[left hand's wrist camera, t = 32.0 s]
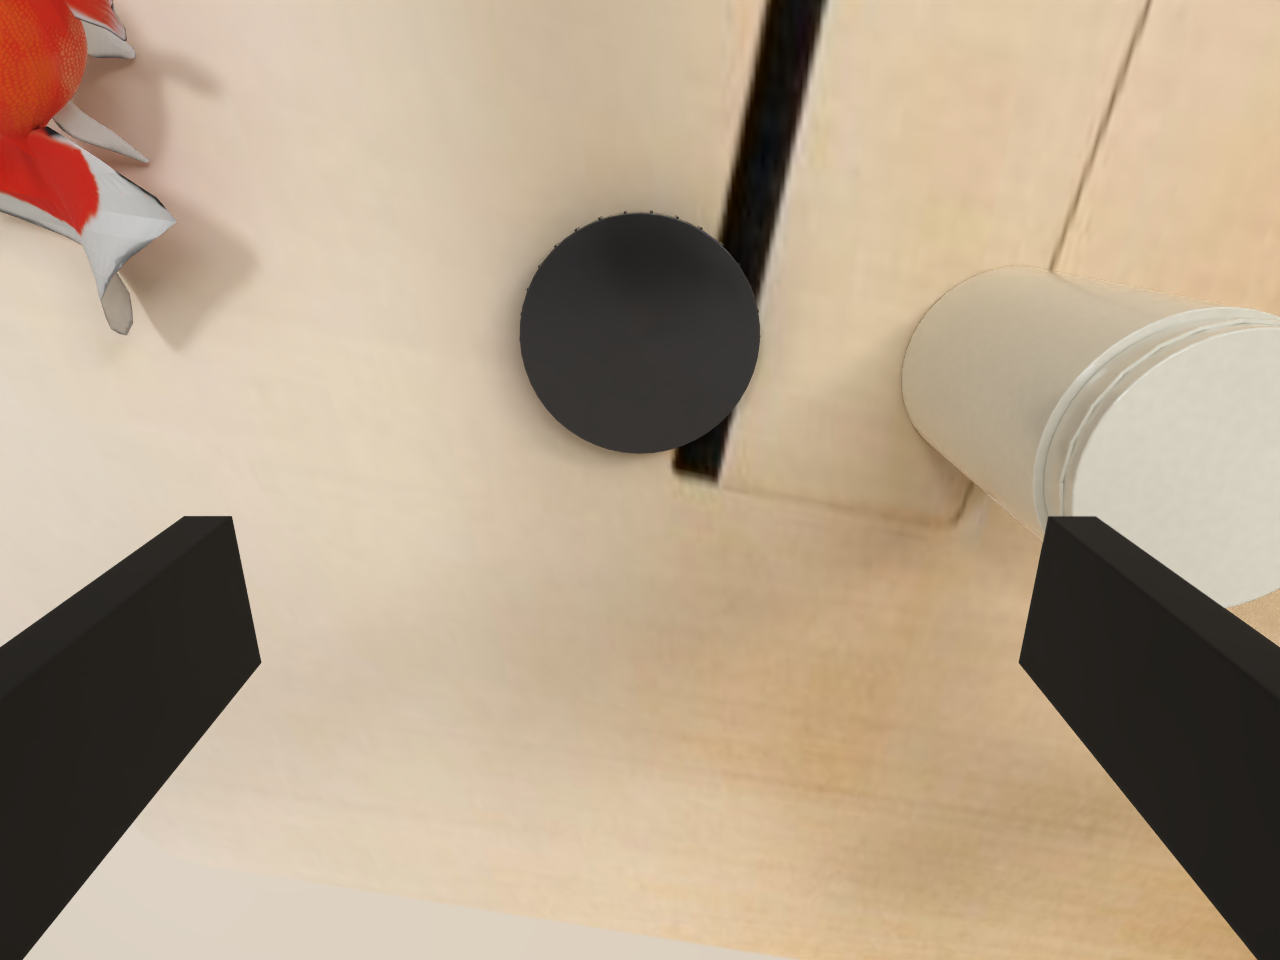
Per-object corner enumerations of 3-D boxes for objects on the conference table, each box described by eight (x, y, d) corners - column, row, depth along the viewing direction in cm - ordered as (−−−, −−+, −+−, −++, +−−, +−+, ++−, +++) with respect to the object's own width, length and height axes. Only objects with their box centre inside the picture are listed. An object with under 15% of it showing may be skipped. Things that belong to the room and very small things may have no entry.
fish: (237, -53, 28) (-61, -15, 21) (283, 310, 39) (98, 413, 32) (15, -153, 29) (-327, -148, 22) (119, 221, 40) (-89, 301, 33)
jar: (1042, 487, 40) (1270, 656, 25) (868, 430, 39) (1004, 571, 24) (1143, 305, 37) (1471, 379, 22) (956, 236, 36) (1174, 267, 21)
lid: (696, 473, 40) (699, 488, 38) (492, 390, 38) (484, 401, 36) (795, 270, 36) (804, 274, 34) (574, 169, 35) (571, 167, 33)
